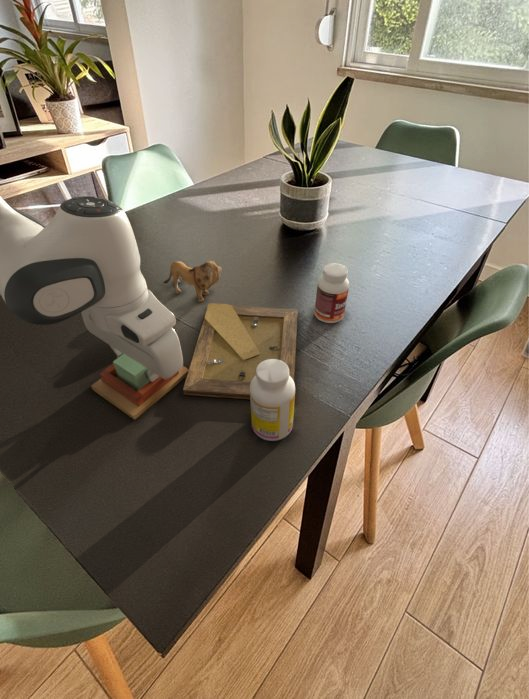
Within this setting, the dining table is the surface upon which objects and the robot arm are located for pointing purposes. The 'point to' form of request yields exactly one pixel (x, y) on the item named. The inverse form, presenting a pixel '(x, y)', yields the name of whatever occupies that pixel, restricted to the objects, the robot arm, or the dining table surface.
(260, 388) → the supplement bottle
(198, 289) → the lion figurine
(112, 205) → the robot arm
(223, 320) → the picture frame
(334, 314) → the pill bottle
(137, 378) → the green block
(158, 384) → the wooden framed tray
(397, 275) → the dining table surface
